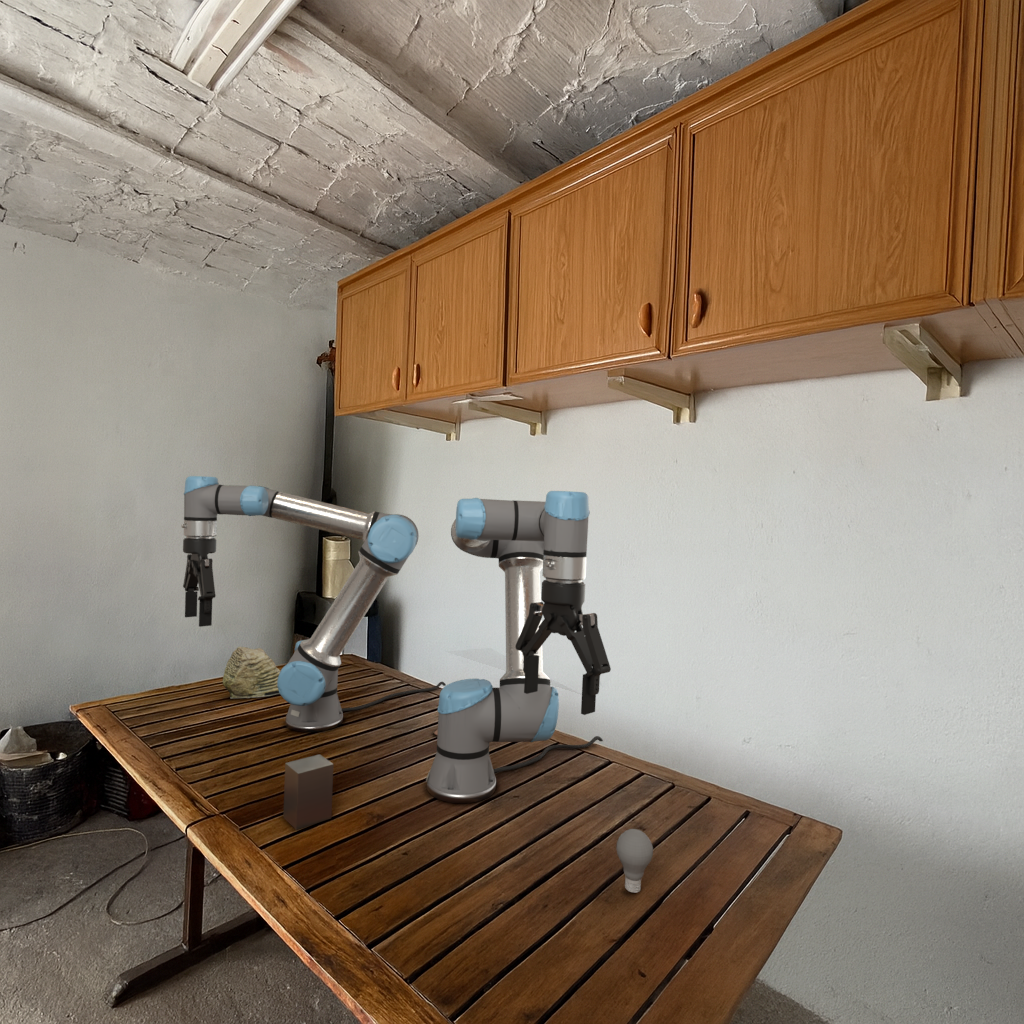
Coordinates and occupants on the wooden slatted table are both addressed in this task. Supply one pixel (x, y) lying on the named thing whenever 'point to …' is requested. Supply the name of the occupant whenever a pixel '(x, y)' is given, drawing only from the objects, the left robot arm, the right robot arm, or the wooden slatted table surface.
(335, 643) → the left robot arm
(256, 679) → the fossil
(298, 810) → the grey boxy piece
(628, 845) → the light bulb
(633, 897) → the wooden slatted table surface
